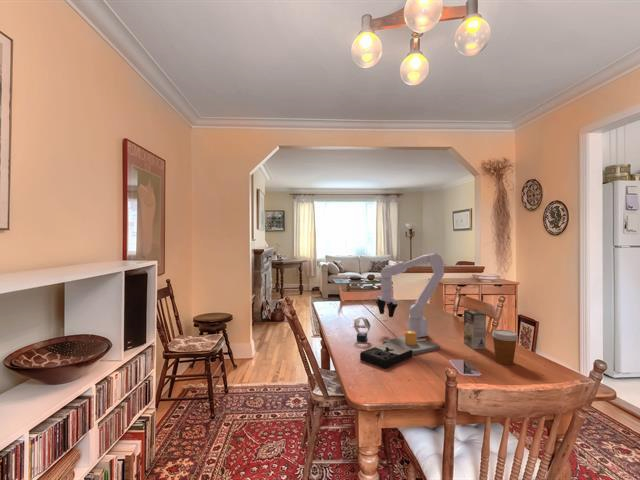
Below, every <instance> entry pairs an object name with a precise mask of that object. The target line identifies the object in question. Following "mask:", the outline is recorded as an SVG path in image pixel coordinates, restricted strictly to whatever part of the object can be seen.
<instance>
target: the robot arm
mask: <svg viewBox="0 0 640 480" xmlns="http://www.w3.org/2000/svg"><path fill="white" fill-rule="evenodd" d="M421 264H423V265H430V266H431V268H432V272H433V273H432V275H431V276H430V278H429V279H428V281H427V283H426V285H425V286H424V288H423V289H422V291H421V293H420V295H419V296H418V298H417V299H416V300H415V301H414V302H413V303H412V304H411V305H410V306H409V308H408V309H409V313H408V314H409V316H408V320H407V321H408V322H407V323H408V330H407V331H415V332H416V334H417V337H418V338H423V337H428V336H429V334H428V326H429V325H428V320H427V319H426V318H425V316H423V311H424V310H425V307H426V305H427V303H428V301H429V299H430V298H431V296H432V295H433V294H434V292H435V290H436V288H437V287H438V286H439V283H440V282H441V280H442V279H443V277H444V275H445V268H444V267H445V266H444V260H443V258H442V256H441V254H439V253H437V252H432V253H428V254H423V255H421V256H418V257H416V258H413V259H411V260H408V261H406V262H405V261H396V262H395V263H393V264H388V266H384V267H383V268H382V269H381V270H380V275H381V277H380V279H381V280H380V295H376V300H375V303H376V306H377V307H378V310H379V314H380V315H383V314H385V306H386V307H387V309H388V310H387V311H388V317H389V318H393V317H394V315H395V311H396V309H397V307H398V300H397V299H395V298H393V281H392V276H397V275H400V274H402V273H405V272H406V271H407V270H408V269H409V268H412V267H415V266H418V265H421Z"/></svg>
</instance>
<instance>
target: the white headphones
mask: <svg viewBox="0 0 640 480" xmlns="http://www.w3.org/2000/svg"><path fill="white" fill-rule="evenodd" d="M356 319H358V318H355V319H353V321H352V323H353V324H350V328H353V329H355V327H354V323H355V321H356ZM360 322H361V319H358V320H357V321H356V325H357V328H358V329H361V328H364V327H366V326H365V324H364V323H360Z"/></svg>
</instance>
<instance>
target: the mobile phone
mask: <svg viewBox="0 0 640 480" xmlns="http://www.w3.org/2000/svg"><path fill="white" fill-rule="evenodd" d="M448 362H449V363H450V364H451V365H452V366H453V367H454V369H455V370H456V369H457V370H458V371H457V370H456V371H457V372H458V373H459V374H460V375H461V376H470V377H471V376H472V377H473V376H474V377H475V376H476V377H478V376H479V377H481V376H482V373H481V372H480V371H479V370H478V369H477V368H476V367H475V366H474V365H473V364H472V363H470V361H469V360H467V359H449V361H448ZM480 375H481V376H480Z"/></svg>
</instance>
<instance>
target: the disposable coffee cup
mask: <svg viewBox="0 0 640 480" xmlns="http://www.w3.org/2000/svg"><path fill="white" fill-rule="evenodd" d="M491 336H492V340H493V342H492V343H493V348H494V356H495V361H496V362H497V363H499V364H503V365H513V364H514V361H515V353H516V348H517V342H518V341H517V340H518V339H519V336H518V334H517V333H516V331H512V330H508V329H507V330H506V329H494V330H493V331H492V332H491Z"/></svg>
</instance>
